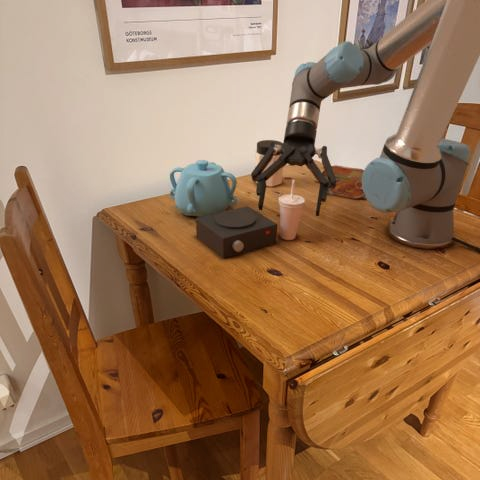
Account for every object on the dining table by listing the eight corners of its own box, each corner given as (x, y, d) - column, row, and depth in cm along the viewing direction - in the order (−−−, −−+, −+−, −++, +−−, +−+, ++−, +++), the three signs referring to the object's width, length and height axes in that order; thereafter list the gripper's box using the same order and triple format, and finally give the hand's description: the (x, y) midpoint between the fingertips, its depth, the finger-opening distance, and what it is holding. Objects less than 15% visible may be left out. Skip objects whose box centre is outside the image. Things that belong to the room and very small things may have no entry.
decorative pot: (242, 218, 120) (243, 167, 112) (184, 226, 115) (181, 174, 107) (221, 197, 132) (220, 150, 124) (168, 204, 127) (164, 155, 119)
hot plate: (279, 245, 107) (280, 223, 104) (226, 260, 100) (225, 238, 97) (247, 224, 117) (247, 203, 113) (196, 237, 110) (195, 215, 107)
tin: (317, 192, 136) (321, 164, 131) (321, 189, 138) (324, 161, 133) (366, 201, 131) (371, 172, 126) (369, 198, 133) (374, 169, 128)
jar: (267, 188, 138) (269, 149, 131) (249, 182, 143) (250, 143, 136) (286, 182, 143) (289, 143, 136) (268, 176, 148) (270, 138, 141)
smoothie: (298, 231, 114) (305, 176, 105) (302, 242, 108) (309, 186, 100) (274, 230, 113) (278, 176, 105) (276, 242, 108) (281, 185, 100)
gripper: (352, 140, 109) (341, 222, 106) (252, 133, 113) (239, 212, 110) (355, 122, 102) (343, 209, 99) (249, 115, 106) (234, 199, 103)
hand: (288, 211), depth 104 cm, fingers open, 13 cm apart
